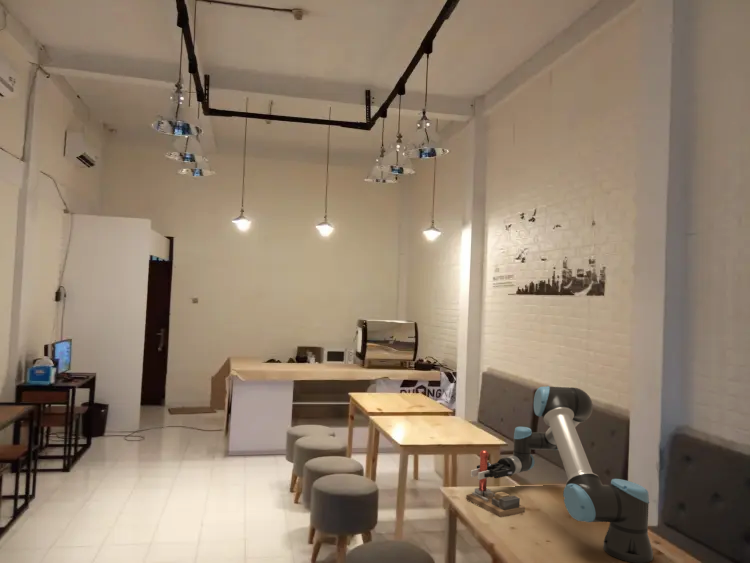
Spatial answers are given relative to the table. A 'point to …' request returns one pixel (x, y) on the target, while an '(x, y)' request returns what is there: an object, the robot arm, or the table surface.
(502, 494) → the block
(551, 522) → the table surface
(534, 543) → the table surface
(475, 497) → the press bed
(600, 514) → the robot arm
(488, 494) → the press lever
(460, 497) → the table surface
